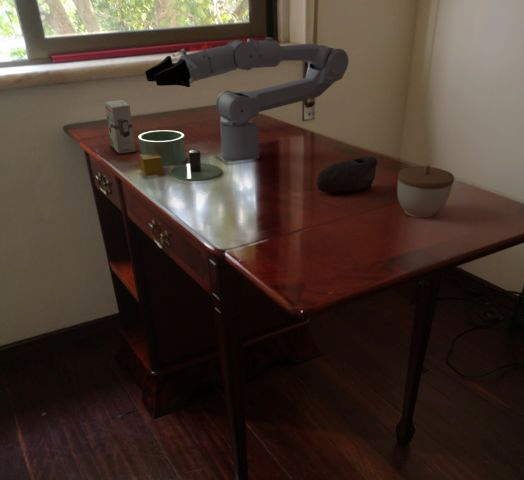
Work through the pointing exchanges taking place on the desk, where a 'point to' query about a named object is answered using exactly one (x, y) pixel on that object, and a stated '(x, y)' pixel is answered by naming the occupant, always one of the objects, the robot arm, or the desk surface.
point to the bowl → (164, 145)
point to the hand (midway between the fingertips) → (151, 78)
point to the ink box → (120, 126)
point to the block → (151, 164)
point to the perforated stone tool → (348, 175)
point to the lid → (195, 169)
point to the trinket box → (423, 190)
